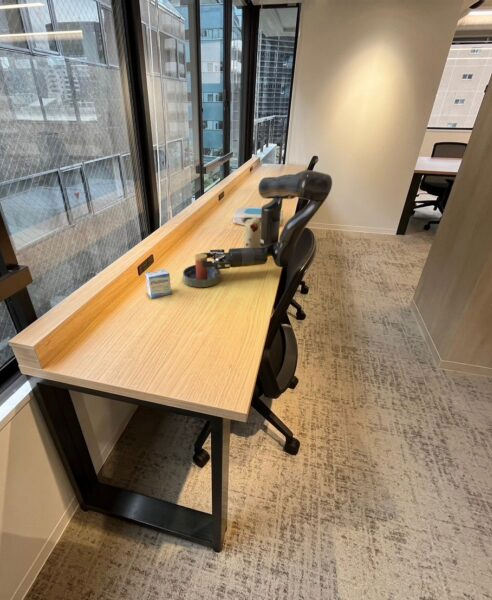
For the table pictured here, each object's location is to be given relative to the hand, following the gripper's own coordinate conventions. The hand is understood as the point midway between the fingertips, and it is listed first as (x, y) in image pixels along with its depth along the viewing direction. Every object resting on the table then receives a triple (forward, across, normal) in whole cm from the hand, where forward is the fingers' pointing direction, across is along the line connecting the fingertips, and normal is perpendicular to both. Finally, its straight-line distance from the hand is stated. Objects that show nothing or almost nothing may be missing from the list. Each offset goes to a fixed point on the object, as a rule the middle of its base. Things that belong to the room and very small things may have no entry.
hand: (201, 260), depth 129 cm
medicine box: (+17, +9, +9) cm, 21 cm away
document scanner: (-43, -73, +9) cm, 85 cm away
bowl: (0, 0, +8) cm, 9 cm away
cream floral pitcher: (-24, -14, +9) cm, 29 cm away
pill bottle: (0, 0, +8) cm, 8 cm away
